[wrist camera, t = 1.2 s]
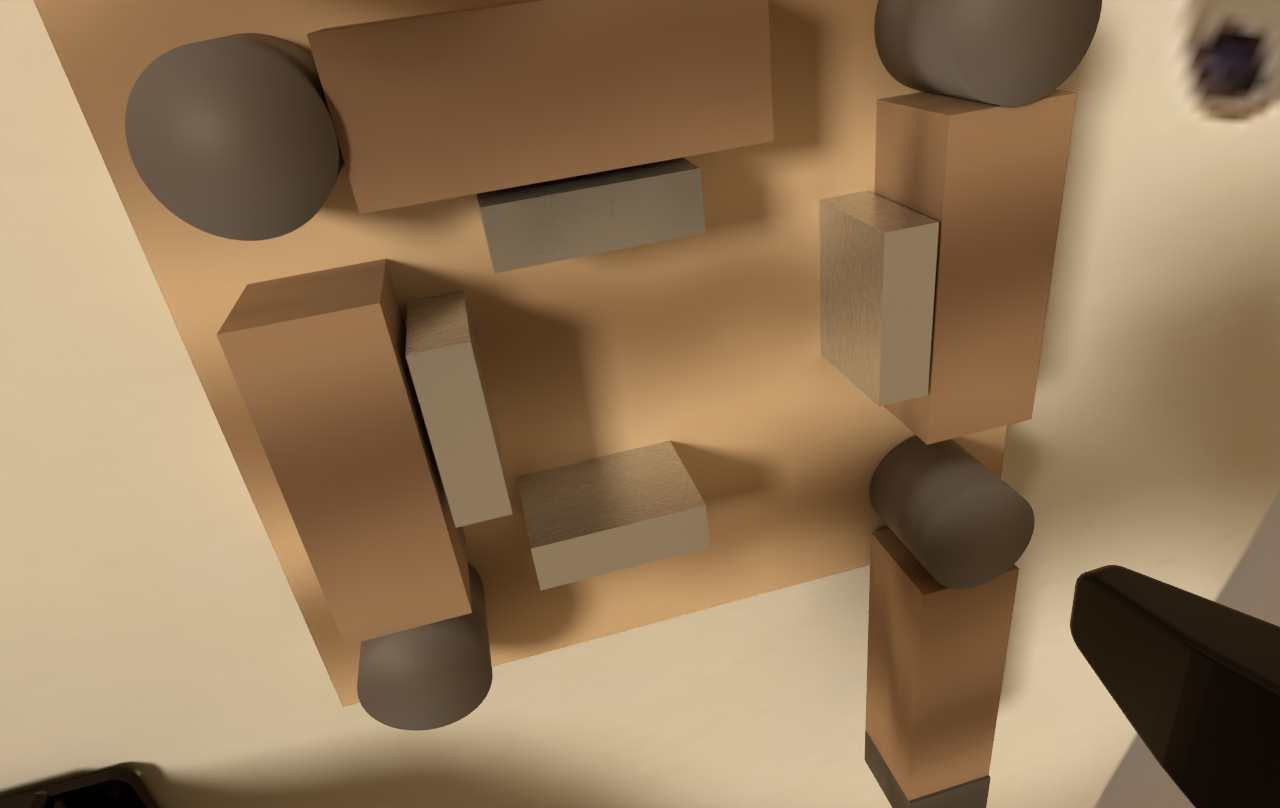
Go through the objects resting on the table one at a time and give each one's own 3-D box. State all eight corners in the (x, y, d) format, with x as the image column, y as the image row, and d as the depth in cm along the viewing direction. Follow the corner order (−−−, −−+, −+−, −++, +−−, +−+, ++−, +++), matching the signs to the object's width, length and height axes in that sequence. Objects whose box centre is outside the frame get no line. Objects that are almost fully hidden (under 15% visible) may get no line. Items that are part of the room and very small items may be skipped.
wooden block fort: (956, 496, 26) (1060, 593, 22) (348, 654, 23) (332, 803, 19) (1016, -152, 18) (1206, -199, 14) (63, -36, 15) (-85, -49, 10)
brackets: (861, 433, 22) (921, 492, 19) (471, 527, 20) (478, 606, 17) (867, 105, 18) (945, 124, 15) (376, 190, 16) (368, 227, 13)
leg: (870, 447, 22) (931, 508, 19) (968, 422, 22) (1041, 479, 20) (862, 760, 28) (907, 838, 25) (938, 736, 28) (990, 810, 26)
